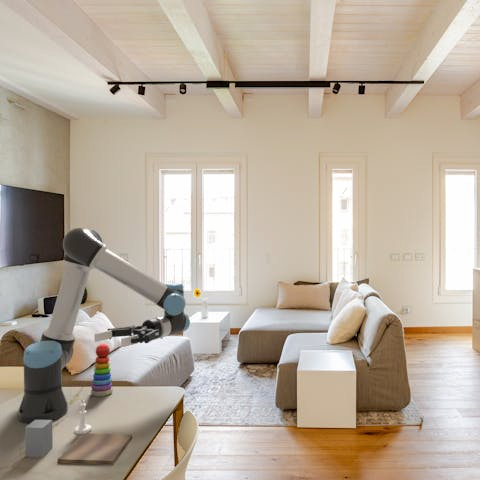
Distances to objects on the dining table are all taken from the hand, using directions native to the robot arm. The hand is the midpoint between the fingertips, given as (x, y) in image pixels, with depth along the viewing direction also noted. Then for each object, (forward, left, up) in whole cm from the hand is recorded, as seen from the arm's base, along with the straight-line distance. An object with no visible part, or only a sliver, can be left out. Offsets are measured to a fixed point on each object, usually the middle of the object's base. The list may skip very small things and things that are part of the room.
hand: (108, 340), depth 138 cm
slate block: (-11, -22, -26) cm, 36 cm away
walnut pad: (+5, -20, -26) cm, 33 cm away
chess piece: (-5, -8, -26) cm, 28 cm away
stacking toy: (-12, +23, -26) cm, 37 cm away
